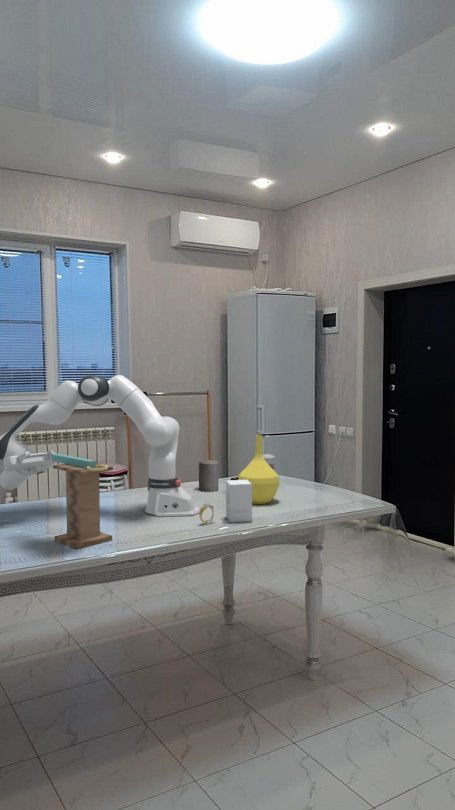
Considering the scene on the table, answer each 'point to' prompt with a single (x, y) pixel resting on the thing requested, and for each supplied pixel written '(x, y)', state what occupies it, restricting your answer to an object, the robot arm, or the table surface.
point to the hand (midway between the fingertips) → (39, 452)
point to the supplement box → (238, 500)
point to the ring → (204, 509)
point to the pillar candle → (208, 476)
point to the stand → (82, 507)
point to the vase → (260, 477)
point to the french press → (268, 456)
